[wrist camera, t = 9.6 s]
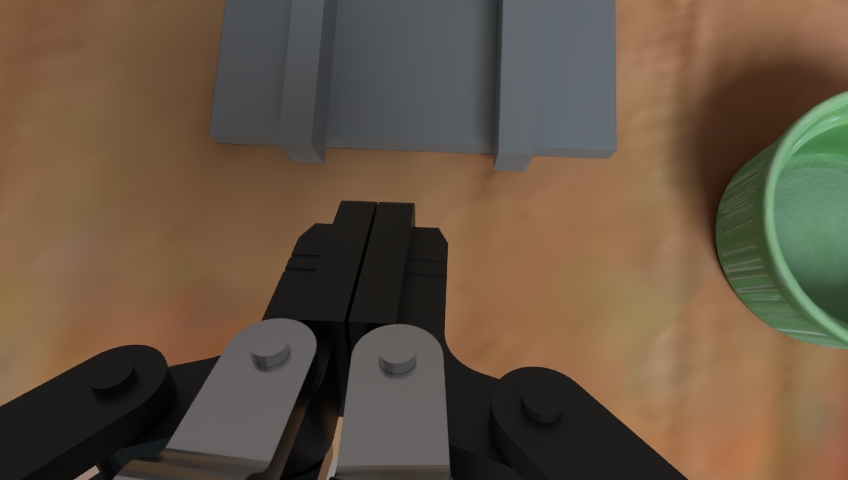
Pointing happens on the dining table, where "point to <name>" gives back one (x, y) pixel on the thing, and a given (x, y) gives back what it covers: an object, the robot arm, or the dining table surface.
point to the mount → (419, 77)
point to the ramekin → (793, 228)
